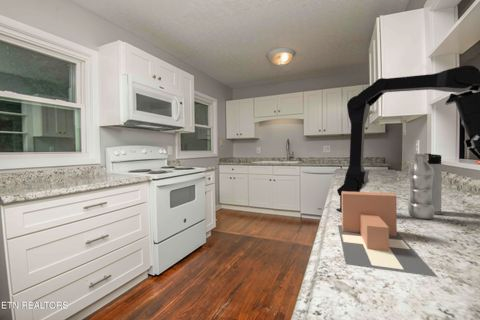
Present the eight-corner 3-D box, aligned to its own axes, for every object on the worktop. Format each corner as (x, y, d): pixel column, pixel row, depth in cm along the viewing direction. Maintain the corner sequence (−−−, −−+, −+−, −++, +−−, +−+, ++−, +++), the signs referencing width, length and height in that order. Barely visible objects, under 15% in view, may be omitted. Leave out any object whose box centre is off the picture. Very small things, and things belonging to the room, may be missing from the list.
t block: (341, 226, 63) (341, 191, 62) (391, 230, 58) (391, 193, 58) (346, 246, 50) (346, 201, 49) (411, 253, 45) (411, 205, 45)
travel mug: (438, 211, 77) (439, 153, 76) (443, 215, 71) (443, 153, 71) (416, 208, 80) (416, 153, 80) (418, 213, 75) (418, 154, 74)
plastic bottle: (412, 220, 67) (412, 154, 67) (404, 214, 74) (404, 154, 73) (438, 222, 65) (439, 154, 64) (428, 216, 72) (428, 154, 71)
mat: (337, 226, 64) (337, 225, 64) (395, 231, 59) (395, 229, 59) (345, 266, 42) (345, 264, 42) (438, 279, 37) (438, 276, 37)
